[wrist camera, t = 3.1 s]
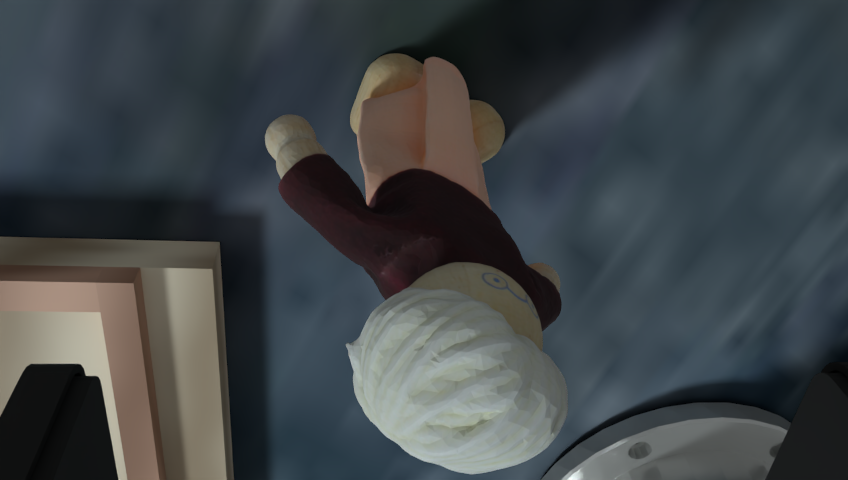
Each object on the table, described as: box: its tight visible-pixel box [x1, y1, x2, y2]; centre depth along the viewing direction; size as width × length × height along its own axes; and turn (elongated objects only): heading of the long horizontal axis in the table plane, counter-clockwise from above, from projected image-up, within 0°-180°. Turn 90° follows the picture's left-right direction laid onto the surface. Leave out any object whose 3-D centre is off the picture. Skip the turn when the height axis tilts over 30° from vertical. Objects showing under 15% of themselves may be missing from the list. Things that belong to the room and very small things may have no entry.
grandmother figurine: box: [265, 53, 568, 474], centre depth 16 cm, size 8×4×13 cm, turn 65°
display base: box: [0, 237, 234, 480], centre depth 25 cm, size 13×13×2 cm
